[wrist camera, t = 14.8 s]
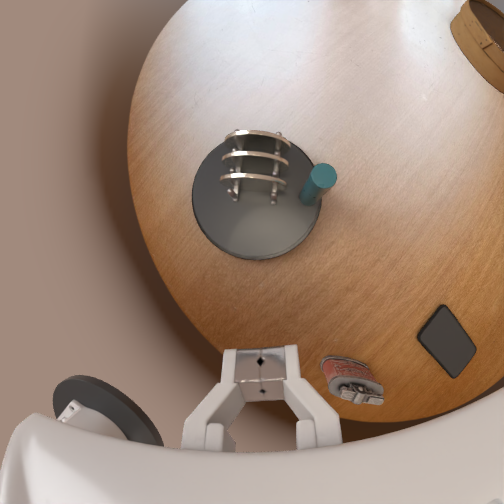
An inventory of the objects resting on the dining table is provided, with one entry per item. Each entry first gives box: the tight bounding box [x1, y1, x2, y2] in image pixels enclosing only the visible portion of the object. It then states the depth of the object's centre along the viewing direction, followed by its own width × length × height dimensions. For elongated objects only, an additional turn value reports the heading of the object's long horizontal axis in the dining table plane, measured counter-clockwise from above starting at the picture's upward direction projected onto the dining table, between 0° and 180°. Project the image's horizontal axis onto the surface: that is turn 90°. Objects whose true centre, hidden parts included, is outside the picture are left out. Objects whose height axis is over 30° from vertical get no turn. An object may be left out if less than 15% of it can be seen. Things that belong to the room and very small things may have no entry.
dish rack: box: [193, 129, 337, 257], centre depth 31 cm, size 17×17×13 cm
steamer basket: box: [451, 0, 504, 93], centre depth 27 cm, size 25×25×11 cm
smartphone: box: [418, 305, 476, 378], centre depth 36 cm, size 7×1×15 cm
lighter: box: [320, 356, 384, 405], centre depth 33 cm, size 8×3×10 cm, turn 72°
